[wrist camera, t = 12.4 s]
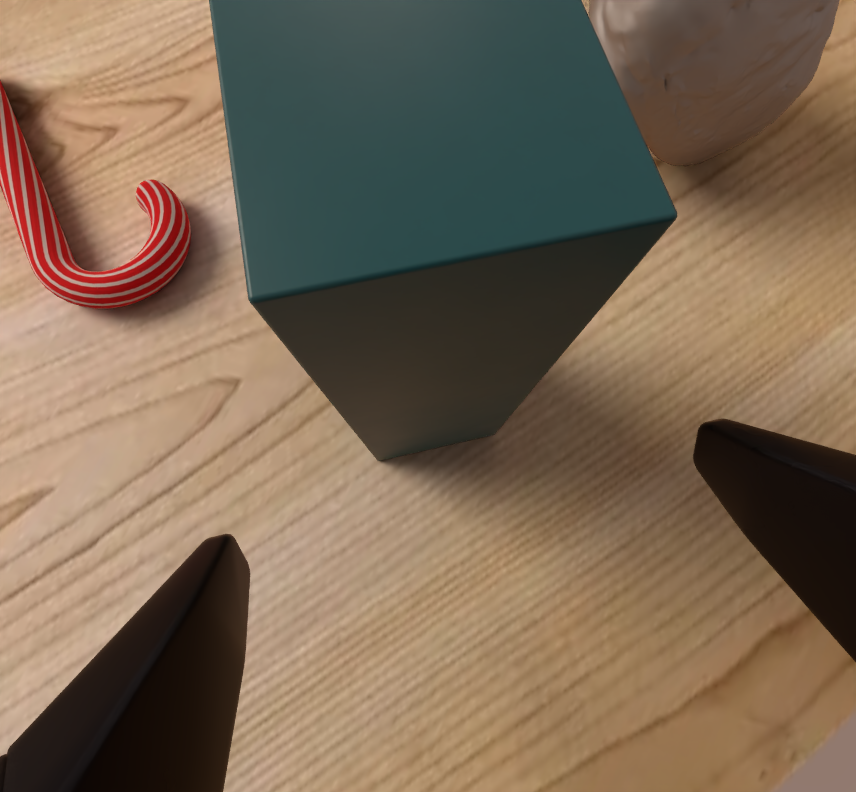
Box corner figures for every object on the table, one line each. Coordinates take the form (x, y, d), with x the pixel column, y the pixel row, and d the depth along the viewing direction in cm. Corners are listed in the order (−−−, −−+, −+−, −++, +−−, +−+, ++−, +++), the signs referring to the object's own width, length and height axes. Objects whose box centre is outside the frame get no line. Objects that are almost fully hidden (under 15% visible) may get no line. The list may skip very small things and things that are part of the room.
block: (495, 434, 16) (681, 215, 4) (377, 461, 16) (246, 301, 4) (465, 327, 17) (552, -71, 6) (355, 350, 17) (204, -20, 5)
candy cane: (98, 37, 21) (74, 2, 20) (220, 271, 18) (202, 249, 16) (-27, 85, 20) (-62, 52, 19) (75, 341, 17) (42, 324, 15)
